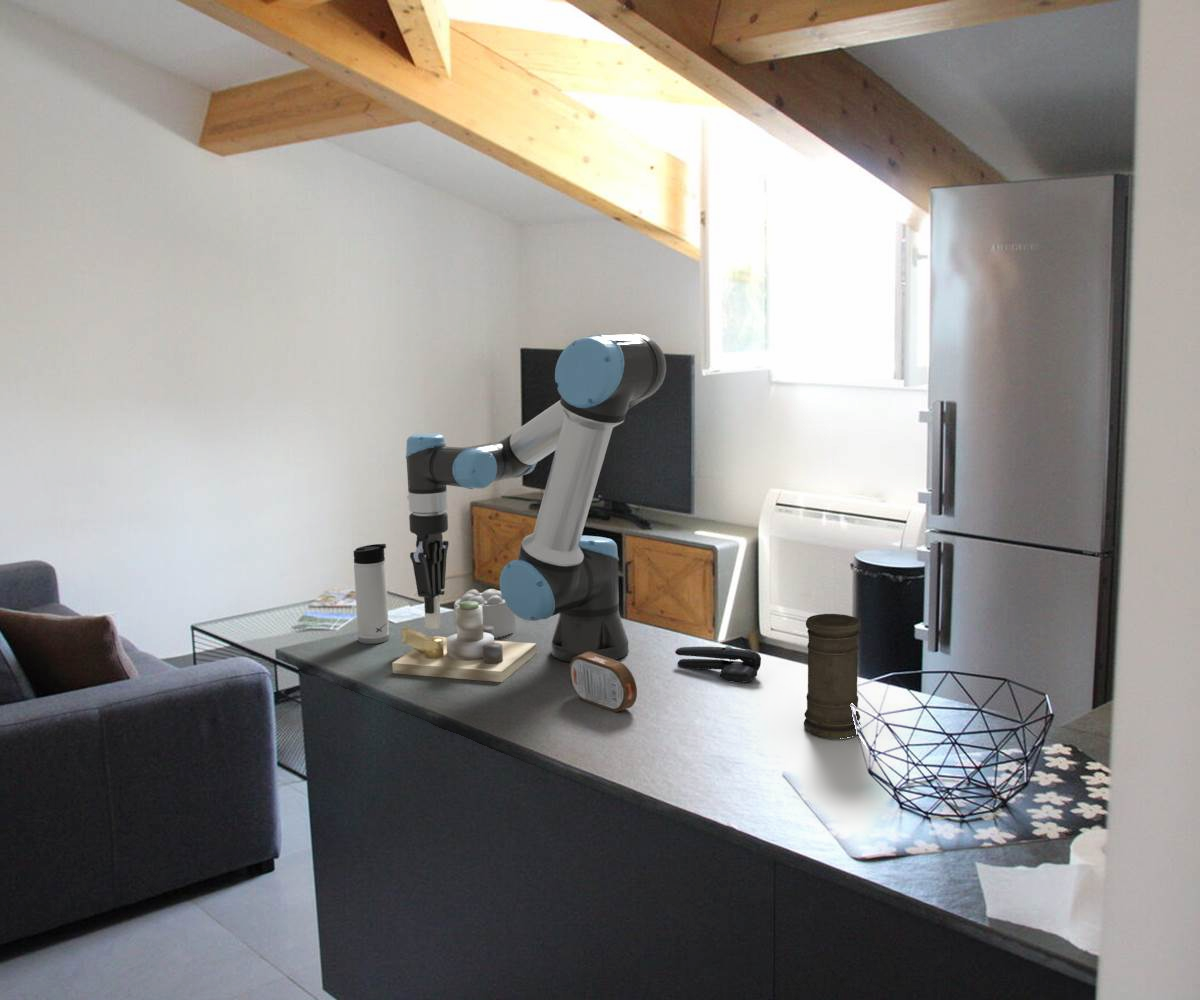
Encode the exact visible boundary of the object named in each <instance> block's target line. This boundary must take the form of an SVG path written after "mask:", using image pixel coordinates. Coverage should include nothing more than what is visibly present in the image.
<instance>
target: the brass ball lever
mask: <svg viewBox="0 0 1200 1000" xmlns="http://www.w3.org/2000/svg"><path fill="white" fill-rule="evenodd" d="M441 637H442V636H438V637H434V636H430V635H428V634H425V633H422V632H420V631H418V630H415V629H413V627H409V626H406V627H402V628H401V639H402V640H401V641H402V644H403V645H407V646H409V647H412V648H413V649H415V648H416V649H418V650H421V651H423V652H425V657H428V658H437V657H441V656H443V655H444V647H443V638H441Z"/></svg>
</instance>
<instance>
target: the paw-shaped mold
mask: <svg viewBox="0 0 1200 1000" xmlns="http://www.w3.org/2000/svg"><path fill="white" fill-rule="evenodd" d="M465 601H475V602H478V605H481V606H482V614H483V626H492V627H494V638H496V639H499V638H498V637H500V638H503V637H502V636H504V637H506V636H505V635H507V636H509V635H508V634H510V635H512V634H511V633H513V634H515V633H516V632H517V631H518V623H517V622H518V621H517V618H518V616H516V615H515V614H514V613H513V612H512V611H511V610H510V609H509V608H508V606H507V605H506V603H505V599H504V598H503V597H502V594H501V590H497V589H495V588H489V589H486V590H484V591H483V592H480V591H478V590H477V589H470V590H468V591H467V592H465V594H464V595H463V596H461V597H460V598H458V599H456V600H455V602H454V603H453V610H454V611H453V612H454V634H457V626H456V607H458V606H459V604H460V603H461V602H465ZM515 631H516V632H515ZM514 632H515V633H514Z"/></svg>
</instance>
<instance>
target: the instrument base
mask: <svg viewBox="0 0 1200 1000" xmlns="http://www.w3.org/2000/svg"><path fill="white" fill-rule="evenodd" d="M456 626H457V634H455V633H454V634H451V635H449V636H440V637H441V638H443V647H444V655H443V656H441V657H437V658H428V657H425V652H423V651H421V650H418V649H416V648H413V649H412V650H410V651H409V652H407V653H406V654H404V655H402V656H401V657H399V658H397V659H395V660H394V661H393V662H392V664H391V665H392V666H391V667H392V674H396V675H397V674H399V675H409V676H412V675H413V676H421V677H422V676H424V677H435V678H447V679H459V680H469V681H470V680H471V681H483V682H484V681H485V682H496V683H503V682H505V681H506V679H508V678H509V677H510V676H512V674H514V673H515V672H516V671H517V670H518V669H520V668H522V666H524V665H525V664H526V663H527V662H529V660H530V659H532V658H533V657H534V656H535V655H537V654H538V651H537V650H538V649H537V646H538V645H537V643H535V642H520V641H509V640H507V641H506V640H495V639H494V627H492V626H483V614H482V606H481V605H478V602H475V601H465V602H461V603H460V604H459V606H458V607H456ZM433 637H439V636H435V635H434V636H433Z"/></svg>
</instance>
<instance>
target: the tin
mask: <svg viewBox="0 0 1200 1000" xmlns="http://www.w3.org/2000/svg"><path fill="white" fill-rule="evenodd" d="M569 680H570V685H571V688H572V689H573V691H574V692H575V694H576V695H577V696H578V697H579V698H580V699H581V700H583V701H585V702H587V703H589V704H592V705H595V706H598V707H600V708H603V709H605V710H608V711H611V712H615V713H616V712H617V713H619V712H622V711H624V710H626V709H630V708H632V707H633V706H634V705H635V703H636V701H637V696H638V688H637V683H636V680H635V678H634V675H633V673H632V672H631V671H630V669H629V668H628V667H627V666H626V665H625V664H624V663H622V661H621V662H620V661H618V660H613V659H610V658H607V657H604V656H601V655H598V654H596V653H593V652H585V653H583V654H581V655H579V656H576V657H575V658H573V659H572V661H571V662H569Z"/></svg>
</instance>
